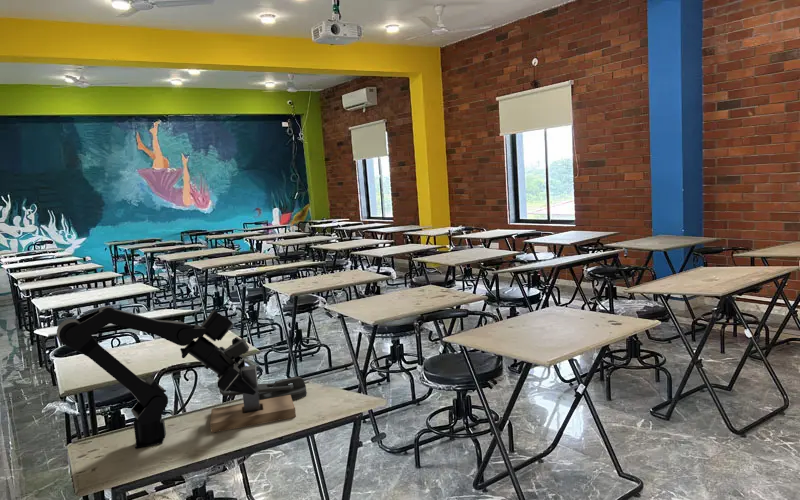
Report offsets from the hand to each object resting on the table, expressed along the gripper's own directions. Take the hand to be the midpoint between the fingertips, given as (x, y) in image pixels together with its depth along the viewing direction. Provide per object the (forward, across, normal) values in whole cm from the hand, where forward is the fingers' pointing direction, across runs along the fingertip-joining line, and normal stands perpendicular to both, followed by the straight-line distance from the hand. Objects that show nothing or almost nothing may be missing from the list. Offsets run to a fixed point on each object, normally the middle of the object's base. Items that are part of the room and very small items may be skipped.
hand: (255, 388), depth 156 cm
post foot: (+5, 0, +7) cm, 8 cm away
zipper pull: (+7, +12, +5) cm, 15 cm away
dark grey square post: (+5, 0, +7) cm, 8 cm away
